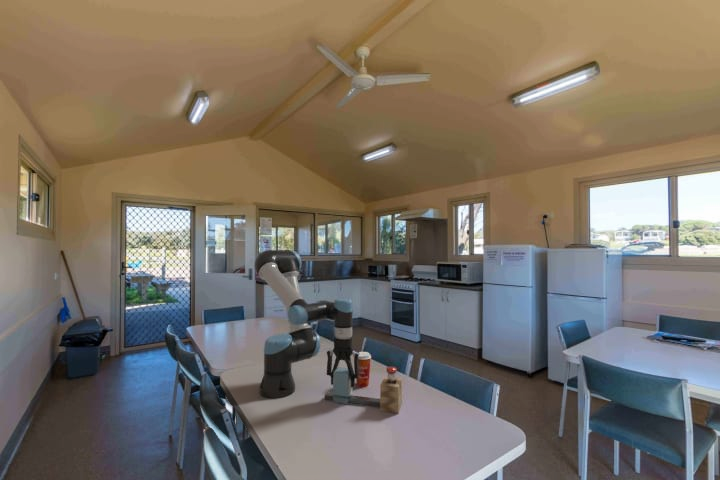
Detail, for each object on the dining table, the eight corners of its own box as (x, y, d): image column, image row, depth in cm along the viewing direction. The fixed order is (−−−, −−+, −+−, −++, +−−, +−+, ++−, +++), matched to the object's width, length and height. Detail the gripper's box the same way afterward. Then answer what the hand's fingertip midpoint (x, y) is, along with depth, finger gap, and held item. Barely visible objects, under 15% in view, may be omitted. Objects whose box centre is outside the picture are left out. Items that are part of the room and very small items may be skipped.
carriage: (333, 402, 136) (333, 372, 136) (338, 395, 142) (338, 367, 142) (347, 404, 134) (347, 373, 135) (351, 397, 140) (351, 368, 141)
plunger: (385, 385, 132) (385, 369, 132) (387, 381, 135) (387, 366, 136) (395, 386, 131) (395, 370, 131) (397, 382, 134) (397, 367, 135)
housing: (380, 411, 129) (380, 384, 130) (384, 401, 138) (385, 376, 138) (398, 413, 127) (398, 387, 128) (401, 403, 136) (401, 378, 136)
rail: (324, 399, 139) (324, 395, 139) (327, 396, 142) (327, 392, 142) (381, 407, 132) (381, 402, 132) (383, 404, 135) (383, 399, 135)
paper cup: (351, 386, 153) (351, 355, 153) (359, 380, 160) (359, 350, 160) (366, 389, 149) (366, 357, 150) (374, 383, 156) (374, 353, 156)
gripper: (318, 337, 138) (317, 394, 137) (363, 341, 133) (362, 400, 132) (324, 332, 145) (324, 387, 144) (367, 336, 140) (367, 392, 139)
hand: (342, 393), depth 138 cm, fingers closed on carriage, 6 cm apart
